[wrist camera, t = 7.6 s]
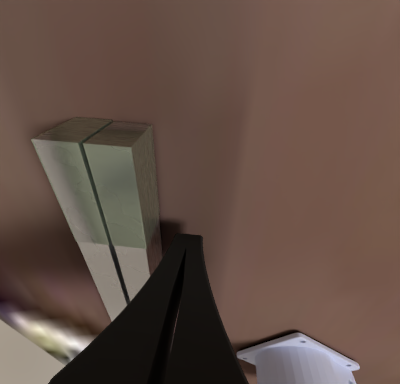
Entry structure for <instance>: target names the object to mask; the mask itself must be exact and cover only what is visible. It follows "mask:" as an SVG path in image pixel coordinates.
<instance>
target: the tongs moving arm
mask: <svg viewBox="0 0 400 384" xmlns="http://www.w3.org/2000/svg"><path fill="white" fill-rule="evenodd" d="M83 145H84V149H85V152H86V156H87V159H88V162H89V166H90V169H91V173H92V176H93V179H94V183H95V186H96V190H97V193H98V196H99V200H100V203H101V207H102V210H103V213H104V217H105V220H106V224H107V227H108V230H109V234H110V237H111V241H112V244H113V246H114V247H115V251H116V254H117V258H118V261H119V265H120V268H121V271H122V275H123V278H124V282H125V285H126V289H127V292H128V296H129V299H130V301H131V300H132V299H133V298H134V297H135V295H136V294H137V293H138V292H139V291H140V289H141V288H142V287H143V285H144V284H145V283H146V281H147V280H148V279H149V277H150V276H151V275H152V273H153V272H154V270H155V269H156V268H157V266H158V265H159V263H160V261H161V260H162V258H163V256H162V245H161V234H160V222H159V215H160V213H159V201H158V189H157V178H156V166H155V155H154V143H153V132H152V124H140V123H127V122H113V123H112V124H110V125H109V126H107V127H106V128H104V129H103V130H101V131H100V132H99V133H97V134H96V135H94V136H93V137H91V138H90V139H89V140H87V141H86V142H84V143H83Z"/></svg>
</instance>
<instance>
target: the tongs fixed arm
mask: <svg viewBox="0 0 400 384" xmlns="http://www.w3.org/2000/svg"><path fill="white" fill-rule="evenodd" d="M112 123H113V120H109V119H96V118H83V117H75V118H73V119H71V120H69V121H67V122H65V123H63V124H61V125H59V126H57V127H55V128H53V129H51V130H48V131H46V132H44V133H42V134H40V135H38V136H36V137H34V138H32V139H31V140H32V143H33V145H34V147H35V149H36V152H37V154H38V156H39V159H40V161H41V163H42V165H43V168H44V170H45V172H46V174H47V177H48V179H49V181H50V184H51V186H52V188H53V190H54V193H55V195H56V197H57V199H58V202H59V204H60V206H61V209H62V211H63V213H64V215H65V218H66V220H67V222H68V224H69V227H70V229H71V231H72V234H73V236H74V238H75V240H76V242H77V243H78V245H79V247H80V250H81V252H82V254H83V256H84V259H85V261H86V263H87V266H88V268H89V270H90V273H91V275H92V277H93V279H94V282H95V284H96V286H97V289H98V291H99V293H100V295H101V298H102V300H103V302H104V305H105V307H106V309H107V312H108V314H109V316H110V318H111V321H113V320H114V319H115V318H116V317H117V316H118V315H119V314H120V313H121V312H122V310H123V309H124V308H125V307H126V306H127V305H128V304H129V303H130V299H129V296H128V292H127V289H126V285H125V282H124V278H123V275H122V271H121V268H120V265H119V261H118V258H117V254H116V251H115V247H114V246H113V244H112V241H111V237H110V234H109V230H108V227H107V224H106V220H105V217H104V213H103V210H102V207H101V203H100V200H99V196H98V193H97V190H96V186H95V183H94V179H93V176H92V173H91V169H90V166H89V162H88V159H87V156H86V152H85V149H84V145H83V143H84V142H86V141H87V140H89V139H90V138H91V137H93V136H94V135H96V134H97V133H99V132H100V131H101V130H103V129H104V128H106V127H107V126H109V125H110V124H112ZM173 338H174V334H173ZM172 343H173V339H172ZM171 348H172V345H171Z"/></svg>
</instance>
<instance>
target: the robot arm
mask: <svg viewBox="0 0 400 384" xmlns="http://www.w3.org/2000/svg"><path fill="white" fill-rule="evenodd" d="M180 301H181V302H180ZM179 306H180V307H179ZM178 310H179V313H178ZM177 314H178V318H177ZM176 318H177V323H176ZM175 323H176V328H175V333H174V327H175ZM173 333H174V338H173ZM172 339H173V343H172ZM171 345H172V348H171ZM237 358H239V359H242V360H244V361H246V362H249V363H251V364H254V365H256V373H257V383H258V384H356V382H355V379H354V377H353V374H352V372H351V371H354V370H358V369H360V367H359V364H358V363H357V362H355V361H353V360H351V359H349V358H347V357H345V356H343V355H341V354H340V353H338V352H336V351H334V350H332V349H330V348H328V347H326V346H325V345H323V344H321V343H319V342H317V341H315V340H313V339H311V338H310V337H308V336H306V335H304V334H302V333H293V334H290V335H287V336H284V337H281V338H278V339H275V340H271V341H268V342H265V343H262V344H259V345H256V346H253V347H250V348H247V349H244V350H241V351H238V352H237V357H236V355H235V353H234V350H233V348H232V346H231V343H230V341H229V338H228V336H227V333H226V331H225V329H224V326H223V323H222V321H221V318H220V315H219V312H218V309H217V306H216V303H215V300H214V297H213V294H212V290H211V287H210V283H209V279H208V275H207V271H206V266H205V261H204V254H203V237H202V236H200V235H190V234H180V233H177V234H176V235H175V237H174V239H173V241H172V243H171V245H170V247H169V248H168V250H167V252H166V254H165V255H164V257H163V258H162V260H161V261H160V263H159V265H158V266H157V268H156V269H155V270H154V272H153V273H152V275H151V276H150V277H149V279H148V280H147V281H146V283H145V284H144V285H143V287H142V288H141V289H140V291H139V292H138V293H137V294H136V295H135V297H134V298H133V299H132V300H131V301H130V303H129V304H128V305H127V306H126V307H125V308H124V309H123V310H122V312H121V313H120V314H119V315H118V316H117V317H116V318H115V319H114V320H113V321H112V322H111V323H110V324H109V325H108V327H106V328H105V329H104V330H103V331H102V332H101V333H100V334H99V335H98V336H97V337H96V338H95V339H94V340H93V341H92V342H91V343H90V344H89V345H88V346H87V347H86V348H85V349H84V350H83V351H82V352H81V353H80V354H78V355H77V356H76V357H75V358H74V359H73V360H72V361H71V362H70V363H68V364H67V365H66V366H65V367H64V368H63V369H62V370H61V371H60V372H58V373H57V374H56V375H55V376H54V377H53V378H52V379H51V380H50V382H49V383H48V384H249V383H248V381H247V379H246V377H245V375H244V373H243V371H242V368H241V366H240V364H239V362H238V360H237Z"/></svg>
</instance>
